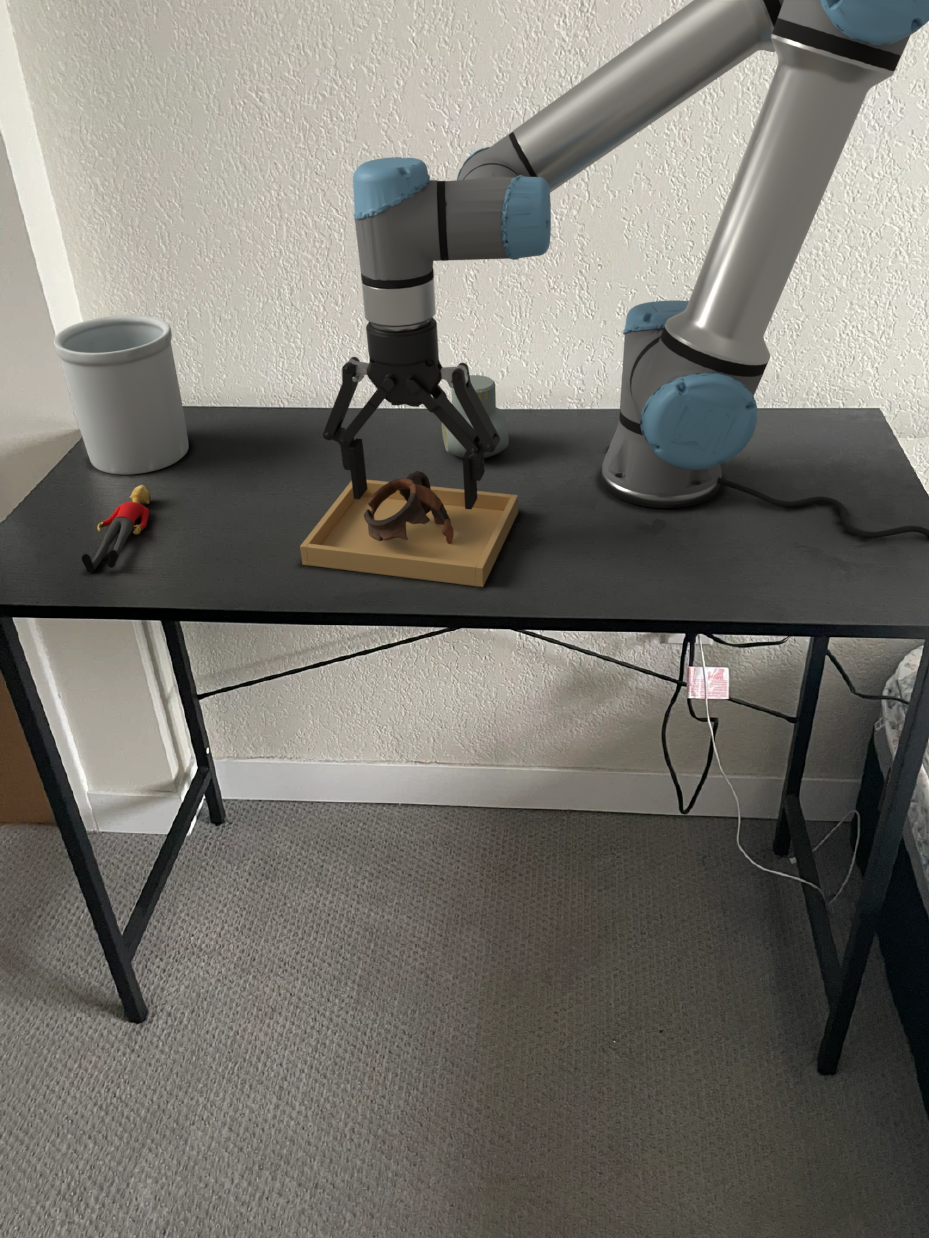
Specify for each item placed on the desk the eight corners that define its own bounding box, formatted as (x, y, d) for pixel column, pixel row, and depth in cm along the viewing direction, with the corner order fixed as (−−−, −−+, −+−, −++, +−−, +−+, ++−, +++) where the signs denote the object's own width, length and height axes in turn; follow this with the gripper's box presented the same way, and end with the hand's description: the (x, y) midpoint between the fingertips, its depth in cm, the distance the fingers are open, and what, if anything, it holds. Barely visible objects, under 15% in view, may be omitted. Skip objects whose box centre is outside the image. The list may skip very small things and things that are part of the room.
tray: (518, 512, 127) (518, 495, 126) (483, 587, 113) (482, 568, 112) (355, 495, 132) (353, 478, 131) (302, 564, 118) (299, 546, 117)
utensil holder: (179, 477, 138) (153, 350, 128) (70, 478, 138) (36, 353, 128) (204, 431, 150) (182, 313, 140) (104, 433, 150) (75, 315, 140)
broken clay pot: (457, 560, 118) (420, 513, 113) (388, 584, 122) (349, 540, 117) (463, 490, 126) (429, 443, 120) (399, 514, 130) (363, 470, 124)
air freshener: (511, 465, 138) (511, 395, 132) (450, 470, 137) (447, 400, 132) (497, 432, 147) (497, 365, 141) (440, 437, 146) (437, 370, 141)
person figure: (76, 540, 115) (126, 468, 130) (73, 568, 118) (123, 495, 132) (121, 552, 116) (166, 479, 131) (118, 580, 118) (162, 505, 133)
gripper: (524, 313, 108) (526, 493, 120) (305, 303, 114) (327, 476, 126) (508, 337, 102) (511, 523, 114) (277, 326, 108) (304, 504, 120)
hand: (415, 499), depth 120 cm, fingers open, 13 cm apart
